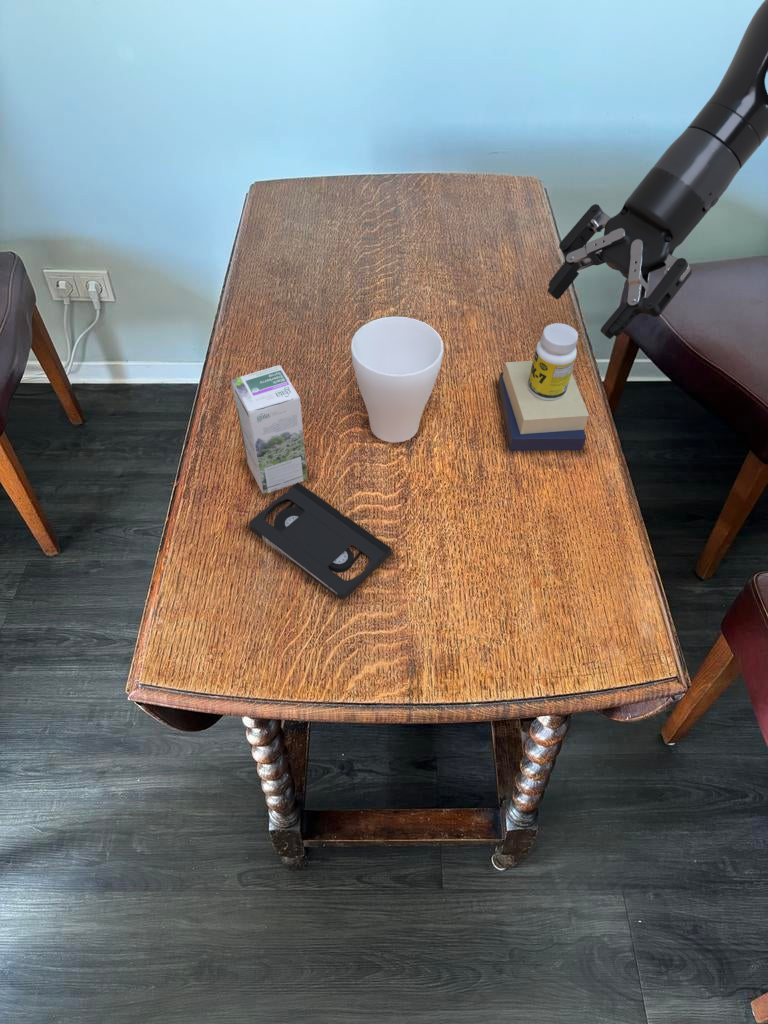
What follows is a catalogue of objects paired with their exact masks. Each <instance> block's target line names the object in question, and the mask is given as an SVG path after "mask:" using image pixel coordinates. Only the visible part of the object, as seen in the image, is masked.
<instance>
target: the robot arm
mask: <svg viewBox="0 0 768 1024" xmlns="http://www.w3.org/2000/svg"><path fill="white" fill-rule="evenodd" d="M767 74H768V0H764V1H762V3H761V4H760V6H759V7H758V9H757V10H756V11H755V12H754V14H753V16H752V18H751V19H750V22H749V24H748V25H747V27H746V29H745V31H744V33H743V34H742V37H741V40H740V42H739V44H738V46H737V49H736V51H735V52H734V55H733V57H732V59H731V62H730V63H729V66H728V67H727V69H726V71H725V73H724V75H723V77H722V78H721V80H720V82H719V84H718V86H717V87H716V89H715V90H714V92H713V94H712V95H711V97H710V98H709V99H708V101H707V102H706V103H705V104H704V106H703V107H702V109H700V111H699V112H698V113H697V114H696V116H695V117H694V118H693V120H692V121H691V122H690V123H689V125H688V126H687V127H686V128H685V129H684V131H683V132H682V133H681V134H680V135H679V136H678V137H677V138H676V139H675V140H674V141H673V142H672V143H671V144H670V145H669V146H668V147H667V148H666V150H665V151H664V152H663V154H662V155H660V157H659V158H658V159H657V161H656V162H655V164H653V166H652V167H651V168H650V169H649V171H648V172H647V174H646V175H645V176H644V177H643V179H642V180H641V181H640V182H639V184H638V185H637V186H636V188H634V190H633V191H632V193H631V194H630V195H629V196H628V198H627V199H626V200H625V202H624V203H623V206H622V208H621V210H620V211H619V212H618V213H617V214H616V215H614V216H612V217H611V216H610V215H608V214H607V213H605V212H604V211H603V209H602V208H601V206H600V205H599V204H597V203H595V204H592V205H591V206H590V207H589V208H588V210H587V211H586V212H585V213H584V214H582V216H581V218H580V219H579V220H578V221H577V222H576V224H575V225H573V227H572V228H571V229H570V230H569V232H568V233H567V234H566V235H565V236H564V238H562V240H561V241H560V242H559V245H558V248H559V249H560V251H561V252H562V254H563V256H564V262H563V263H562V265H560V267H559V269H558V270H557V271H556V272H555V274H554V275H553V277H552V278H551V279H550V280H549V282H548V284H547V286H548V288H547V293H548V294H549V295H550V296H551V297H553V298H554V299H555V300H559V299H560V298H561V297H562V296H563V295H564V293H565V292H566V291H567V290H568V288H569V287H570V286H571V285H572V283H574V281H575V280H576V279H577V277H578V276H579V275H580V273H579V272H578V271H582V270H585V269H586V268H589V267H592V266H600V265H603V264H606V265H607V266H608V268H610V269H612V270H615V271H618V272H620V274H621V275H622V277H624V278H625V279H627V281H628V291H627V292H628V293H627V302H626V303H625V302H624V301H622V302H621V304H619V306H618V307H617V308H616V309H615V311H614V312H613V313H612V314H611V316H610V317H609V318H608V319H607V320H606V322H605V323H604V324H603V325H602V326H601V328H600V332H601V334H602V335H603V336H604V337H606V338H607V339H608V340H612V338H614V337H615V338H618V337H619V336H620V335H622V333H623V332H624V331H625V329H627V328H628V327H629V325H630V324H631V323H632V322H633V320H634V319H635V318H636V317H637V316H638V315H640V314H645V315H650V316H651V317H653V318H657V317H659V316H660V315H661V314H662V313H663V312H664V310H665V309H666V308H667V307H668V305H669V304H670V303H671V301H672V300H673V299H674V297H676V295H677V294H678V292H679V291H680V290H681V288H682V287H683V286H684V284H685V283H686V282H687V281H688V280H689V278H690V277H691V275H692V273H693V271H692V268H691V265H690V264H689V262H688V261H687V260H686V259H685V258H684V257H680V258H678V257H675V256H674V255H673V254H674V251H675V250H676V249H677V248H678V247H679V246H680V245H682V244H683V242H684V241H685V240H686V239H687V238H688V236H689V235H690V234H691V233H692V232H693V231H694V229H695V228H696V227H697V226H698V224H700V222H701V221H702V220H703V218H705V216H706V215H707V214H708V212H709V211H710V210H711V209H712V208H714V206H715V205H716V204H717V203H718V201H719V199H720V198H721V197H722V196H723V194H724V192H725V191H726V190H727V189H728V188H729V186H730V185H731V183H732V182H733V180H734V178H735V177H736V175H738V173H739V172H740V170H741V169H742V168H743V167H744V165H745V164H746V163H747V162H748V161H749V159H750V158H751V157H752V156H753V155H754V153H755V152H756V151H757V150H758V148H759V147H760V146H761V145H762V144H763V143H764V142H765V141H766V140H767V138H768V91H767V88H766V78H767V77H766V76H767ZM602 230H604V231H603V235H602V236H600V237H598V238H596V239H594V240H591V239H592V238H593V237H594V236H595V234H596V233H601V232H602ZM590 240H591V241H590ZM663 268H664V270H663V275H664V276H663V277H662V278H661V279H660V281H659V282H658V283H657V285H656V287H654V289H653V290H652V291H651V293H650V294H649V296H648V292H649V290H650V282H651V273H653V272H655V271H657V270H660V269H663Z"/></svg>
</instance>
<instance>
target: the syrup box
mask: <svg viewBox="0 0 768 1024" xmlns="http://www.w3.org/2000/svg"><path fill="white" fill-rule="evenodd" d="M230 381H231V388H232V392H233V393H232V394H233V397H234V402H235V407H236V412H237V417H238V422H239V427H240V433H241V437H242V443H243V449H244V455H245V458H246V463H247V466H248V468H249V470H250V472H251V474H252V476H253V478H254V479H255V481H256V484H257V486H258V488H259V490H260V491H261V493H262V494H263V495H268V494H270V493H273V492H276V491H278V490H282V489H285V488H288V487H290V486H294V485H295V484H296V483H297V482H298V483H302V482H304V481H307V480H308V472H307V471H308V470H307V459H306V458H307V457H306V449H305V438H304V427H303V414H302V405H301V403H302V402H301V397H300V396H299V393H298V392H297V390H296V389H295V387H294V386H293V384H292V383H291V380H290V379H289V377H288V376H287V373H286V372H285V370H284V368H283V367H282V366H281V364H278V365H275V366H271V367H268V368H264V369H261V370H257V371H255V372H251V373H248V374H244V375H241V376H237V377H234V378H231V380H230Z"/></svg>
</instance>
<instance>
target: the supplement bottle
mask: <svg viewBox="0 0 768 1024" xmlns="http://www.w3.org/2000/svg"><path fill="white" fill-rule="evenodd" d="M578 340H579V333H578V332H577V330H576V329H575V328H574V327H572V326H571V325H569V324H566V323H561V322H555V323H550V324H548V325H546V326H545V328H543V331H542V334H541V337H540V340H538V342H537V343H536V347H535V351H534V355H533V359H532V361H533V363H532V368H531V372H530V377H529V381H528V388H529V390H530V392H531V393H532V394H533V395H534V396H536V397H537V398H539V399H542V400H556V399H559V398H561V397H562V396H563V395H564V394H565V393H566V390H567V387H568V383H569V380H570V376H571V373H572V374H573V370H574V366H575V363H576V359H577V355H578V350H577V343H578Z"/></svg>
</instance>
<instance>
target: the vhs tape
mask: <svg viewBox="0 0 768 1024" xmlns="http://www.w3.org/2000/svg"><path fill="white" fill-rule="evenodd" d="M286 500H290V501H291V502H290V503H289V504H288V505H286V507H284V508H283V509H282V510H281V511H279V512H278V513H277V514H276V516H275V517H274V519H273V525H272V524H270V523H269V522H268V521H266V519H265V518H266V516H267V515H268V514H270V513H271V512H272V511H273V510H275V508H277V507H278V506H279V505H280V504H282V503H283V502H284V501H286ZM295 505H296V506H295ZM249 528H250V531H251V532H252V533H253V534H254V535H256V536H257V537H258V538H260V539H261V540H262V541H263V542H265V543H266V544H267V545H268V546H270V547H271V548H273V549H274V550H275V551H277V552H278V553H279V554H281V556H283V557H284V558H285V559H287V560H288V561H289V562H291V563H292V564H294V566H295V567H297V568H299V569H300V570H301V571H303V573H305V574H306V575H308V576H309V577H310V578H311V579H313V580H314V581H315V582H316V583H318V584H319V585H321V587H323V588H325V589H326V590H327V591H329V593H331V594H332V595H333V596H335V597H336V598H337V599H339V600H341V601H343V600H346V599H347V598H348V597H349V596H350V595H351V594H352V593H353V592H354V591H355V590H356V589H357V588H358V587H359V586H360V585H361V584H362V583H363V582H364V581H365V580H367V579H368V578H369V577H370V575H372V574H373V573H374V572H375V571H376V570H377V569H378V568H379V567H380V566H381V565H382V564H384V562H385V561H386V560H387V559H389V557H391V555H392V548H391V547H390V546H388V545H387V544H386V543H384V542H383V541H381V540H380V539H379V538H377V537H376V536H375V535H373V534H372V533H371V532H369V531H368V530H366V529H365V528H363V527H362V526H360V525H359V524H357V523H356V522H355V521H354V520H352V519H350V518H349V517H348V516H347V515H344V514H343V513H341V511H339V510H338V509H336V508H335V507H334V506H332V505H331V504H329V503H328V502H327V501H325V500H324V499H322V498H321V497H319V496H318V495H316V493H314V492H312V491H311V490H310V489H308V488H307V487H306V486H304V485H303V484H301V482H299V483H298V482H297V483H296V484H293V485H292V486H291V487H290V488H289V489H288V490H287V492H284V493H283V494H282V495H280V496H279V497H278V498H277V499H276V500H274V501H273V502H272V503H271V504H269V505H268V506H267V507H266V508H265V509H263V510H262V511H261V512H260V513H258V514H257V515H255V517H254V518H252V519H251V520H250V521H249ZM352 546H353V547H354V548H356V549H357V550H358V553H357V554H356V556H355V557H354V553H353V551H352V550H351V548H350V547H352ZM362 554H364V555H365V556H366V557H368V558H369V562H368V564H367V566H366V567H365V569H364V570H363V571H362V572H360V574H358V575H356V576H355V577H354V578H350V579H348V580H346V579H344V578H342V577H341V576H339V575H338V574H337V573H339V574H340V573H342V574H343V573H345V572H348V571H349V570H350V569H352V568H353V566H354V564H355V563H356V561H357V560H358V559H359V557H360V556H361V555H362Z"/></svg>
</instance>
